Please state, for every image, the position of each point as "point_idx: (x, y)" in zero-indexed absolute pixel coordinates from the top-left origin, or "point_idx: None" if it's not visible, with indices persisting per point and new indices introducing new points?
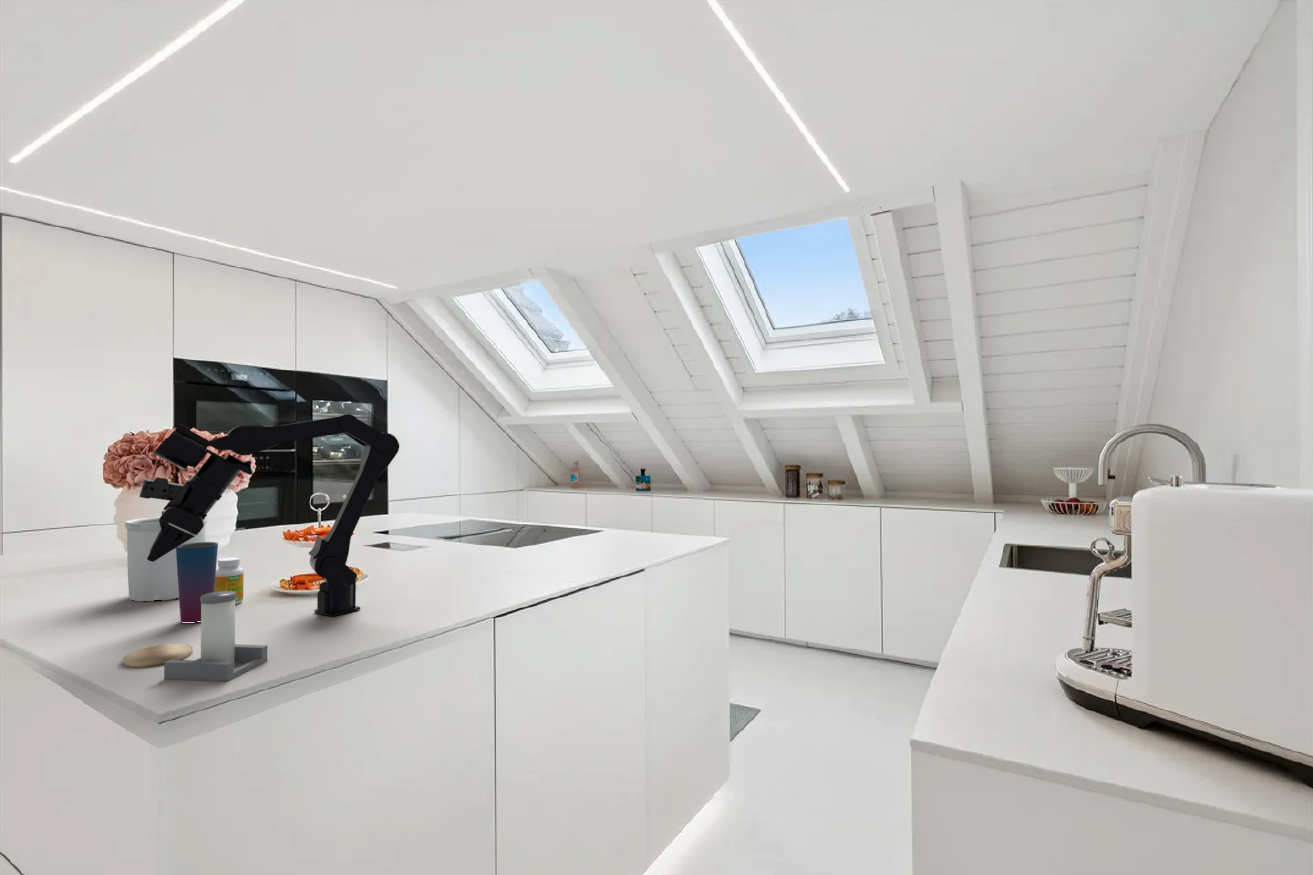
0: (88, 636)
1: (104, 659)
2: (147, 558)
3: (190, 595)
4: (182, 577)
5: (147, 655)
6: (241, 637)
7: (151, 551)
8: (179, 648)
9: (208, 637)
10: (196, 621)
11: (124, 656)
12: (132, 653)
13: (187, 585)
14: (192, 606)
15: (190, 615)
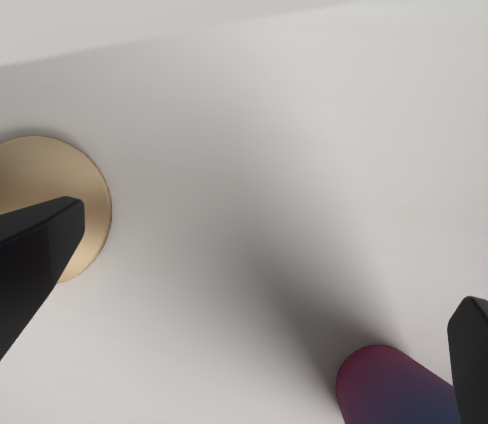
0: (416, 120)
1: (128, 114)
2: (65, 197)
3: (363, 401)
4: (413, 413)
5: (27, 185)
6: (64, 420)
7: (8, 215)
8: None
9: None
10: (338, 379)
11: (62, 142)
12: (75, 162)
13: (382, 411)
14: (350, 388)
15: (348, 371)
